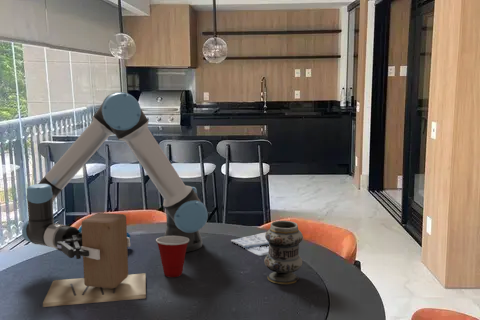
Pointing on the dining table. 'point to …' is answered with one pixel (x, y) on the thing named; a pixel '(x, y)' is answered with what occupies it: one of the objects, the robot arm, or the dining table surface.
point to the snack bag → (254, 244)
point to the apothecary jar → (283, 252)
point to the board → (94, 291)
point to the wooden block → (105, 250)
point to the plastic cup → (172, 254)
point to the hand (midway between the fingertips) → (114, 248)
